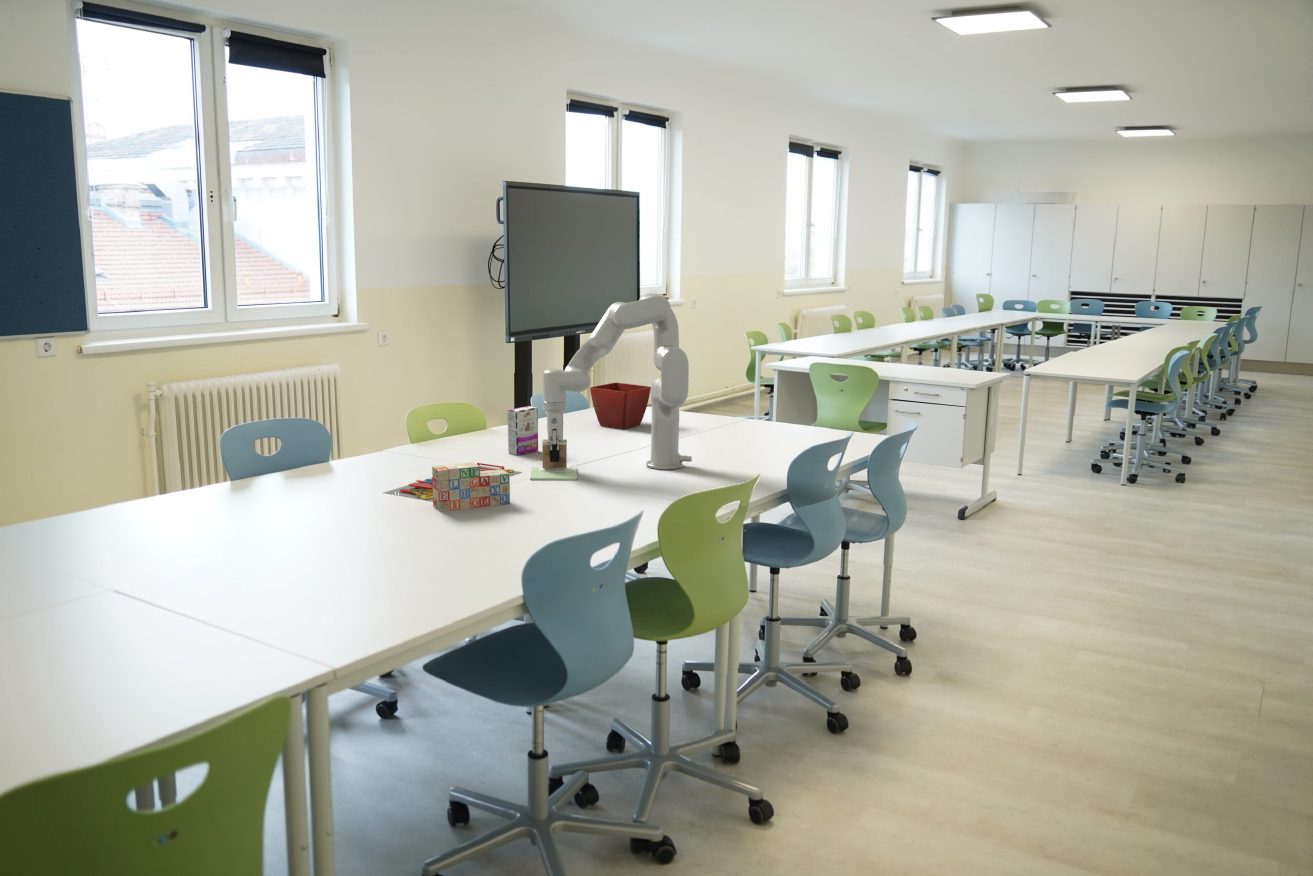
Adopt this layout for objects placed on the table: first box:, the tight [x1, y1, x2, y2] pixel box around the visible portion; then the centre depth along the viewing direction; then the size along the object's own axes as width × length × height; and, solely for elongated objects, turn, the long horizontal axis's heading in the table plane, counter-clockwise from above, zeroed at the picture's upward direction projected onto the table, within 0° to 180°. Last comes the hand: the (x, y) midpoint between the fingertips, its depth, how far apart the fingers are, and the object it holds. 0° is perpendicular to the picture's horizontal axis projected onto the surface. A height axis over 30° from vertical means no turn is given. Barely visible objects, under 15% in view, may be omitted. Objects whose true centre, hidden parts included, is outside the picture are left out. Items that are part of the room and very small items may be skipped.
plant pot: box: [589, 382, 651, 430], centre depth 415 cm, size 19×19×17 cm
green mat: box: [529, 466, 578, 481], centre depth 327 cm, size 15×16×1 cm
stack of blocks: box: [431, 461, 511, 512], centre depth 286 cm, size 21×6×12 cm, turn 119°
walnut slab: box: [541, 439, 568, 468], centre depth 331 cm, size 8×4×9 cm, turn 95°
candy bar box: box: [507, 405, 539, 456], centre depth 358 cm, size 11×5×16 cm, turn 143°
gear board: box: [382, 462, 522, 503], centre depth 313 cm, size 45×2×19 cm
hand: (554, 459), depth 331 cm, fingers closed on walnut slab, 4 cm apart
